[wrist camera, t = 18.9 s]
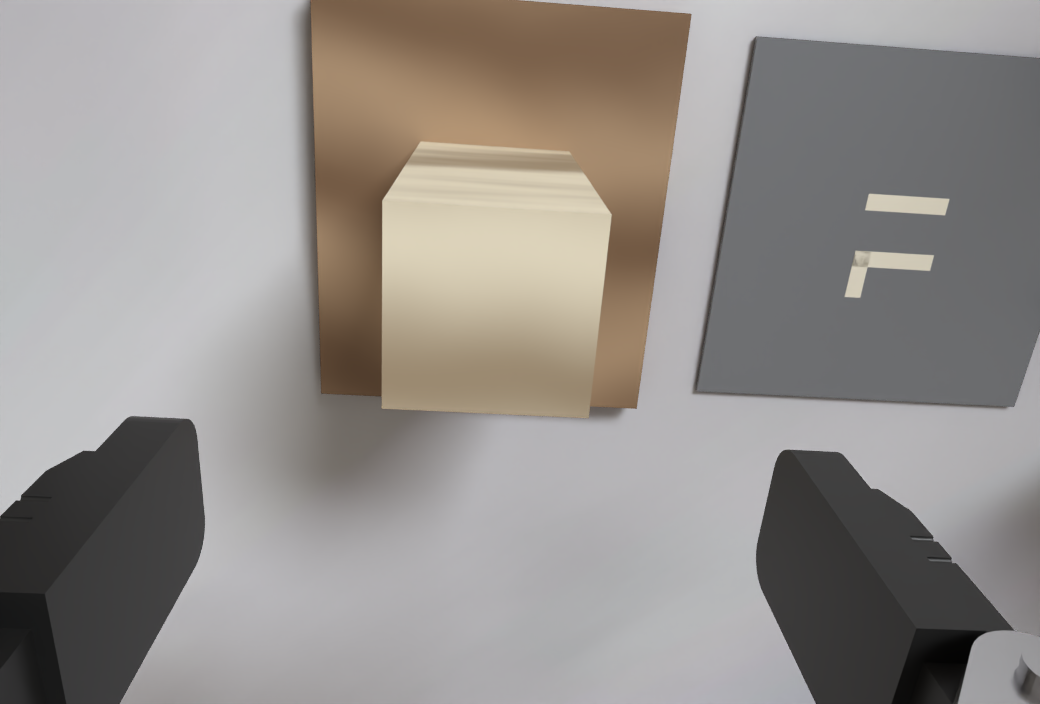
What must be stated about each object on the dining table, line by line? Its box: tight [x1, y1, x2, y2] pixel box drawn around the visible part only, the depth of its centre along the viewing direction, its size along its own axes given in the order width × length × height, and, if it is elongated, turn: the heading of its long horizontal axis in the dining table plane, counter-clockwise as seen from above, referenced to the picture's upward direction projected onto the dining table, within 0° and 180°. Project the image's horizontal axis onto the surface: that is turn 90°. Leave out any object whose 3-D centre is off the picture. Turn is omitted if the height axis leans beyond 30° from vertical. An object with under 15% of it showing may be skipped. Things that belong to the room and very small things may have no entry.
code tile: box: [696, 37, 1040, 407], centre depth 29 cm, size 13×13×1 cm
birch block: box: [382, 141, 612, 418], centre depth 23 cm, size 5×5×10 cm
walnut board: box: [311, 0, 691, 409], centre depth 28 cm, size 14×12×1 cm
